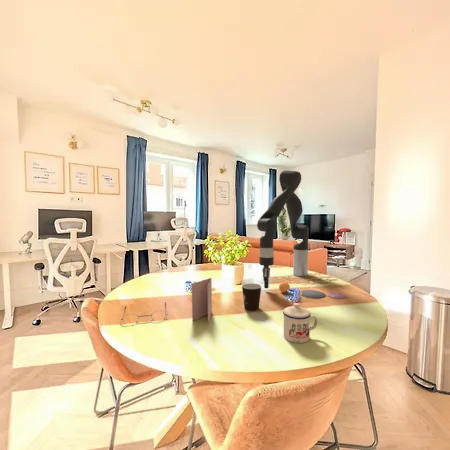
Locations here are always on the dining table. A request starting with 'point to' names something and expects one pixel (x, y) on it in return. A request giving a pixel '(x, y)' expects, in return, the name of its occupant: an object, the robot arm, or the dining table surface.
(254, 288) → the coffee mug
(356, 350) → the dining table surface
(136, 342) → the dining table surface
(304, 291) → the disc
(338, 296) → the disc
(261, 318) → the dining table surface
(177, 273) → the dining table surface
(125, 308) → the eyeglasses
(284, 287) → the ball
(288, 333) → the teacup with lid
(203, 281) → the greeting card
